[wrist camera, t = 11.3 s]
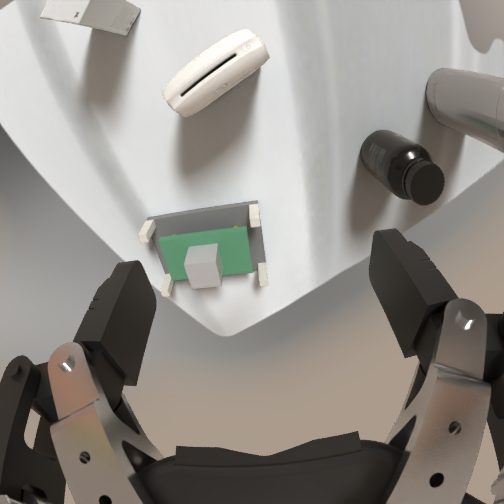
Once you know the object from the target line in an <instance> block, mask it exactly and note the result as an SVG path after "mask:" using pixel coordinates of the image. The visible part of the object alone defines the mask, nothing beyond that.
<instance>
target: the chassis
mask: <svg viewBox="0 0 504 504" xmlns="http://www.w3.org/2000/svg"><path fill="white" fill-rule="evenodd" d="M243 226H247V233H248V240H249V246H250V253H251V260H252V267H253V270H258V271H259V282H260V287H262V286H269V285H268V276H267V267H266V259H265V251H264V244H263V236H262V229H261V221H260V214H259V207H258V201H251V202H243V203H236V204H229V205H222V206H215V207H208V208H202V209H196V210H189V211H183V212H177V213H171V214H165V215H160V216H154V217H148V219H147V220H146V222H145V224H144V225H143V227H142V229H141V231H140V232H139V234H138V237H139V240H140V243H145V242H149V240H150V238H151V236H152V239H153V242H154V245H155V247H156V250H157V253H158V255H159V258H160V261H161V263H162V266H163V269H164V271H165V274H166V275H165V278H164V281H163V284H162V287H161V294H162V296H163V297H166V296H170V295H171V291H172V287H173V284H174V280H173V281H172V279H171V276H170V273H169V271H168V268H167V265H166V262H165V259H164V256H163V254H162V251H161V248H160V245H159V242H158V240H159V238H160V237H164V236H171V235H179V234H186V233H194V232H202V231H210V230H218V229H226V228H234V227H243Z"/></svg>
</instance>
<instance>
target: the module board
mask: <svg viewBox="0 0 504 504" xmlns="http://www.w3.org/2000/svg"><path fill="white" fill-rule="evenodd" d="M158 242H159V245H160V248H161V251H162V254H163V256H164V259H165V262H166V265H167V268H168V271H169V273H170V276H171V279H172V281H173V280H183V279H189V282H190V285H191V288H192V289H197V288H208V287H218V286H222V276H224V275H233V274H243V273H252V272H253V267H252V260H251V253H250V246H249V240H248V233H247V226H243V227H234V228H226V229H218V230H210V231H202V232H194V233H186V234H179V235H171V236H164V237H160V238H159V240H158Z"/></svg>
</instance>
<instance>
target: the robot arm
mask: <svg viewBox="0 0 504 504" xmlns="http://www.w3.org/2000/svg"><path fill="white" fill-rule="evenodd" d="M426 95H427V102H428V106H429V109H430V111H431V113H432V114H433V116H434V118H435V119H436V120H437V121H438V122H440V123H441V124H443V125H445V126H448V127H450V128H453V129H455V130H457V131H459V132H462V133H464V134H466V135H468V136H470V137H473V138H475V139H477V140H479V141H481V142H483V143H485V144H487V145H489V146H491V147H493V148H495V149H497V150H499V151H501V152H502V153H504V78H500V77H496V76H491V75H486V74H481V73H476V72H470V71H464V70H457V69H449V68H441V69H439V70H437V71H435V72H434V73H433V74H432V75H431V77H430V79H429V81H428V84H427V92H426ZM369 277H370V281H371V284H372V287H373V289H374V291H375V293H376V295H377V297H378V299H379V301H380V303H381V305H382V307H383V309H384V312H385V313H386V316H387V318H388V320H389V322H390V325H391V327H392V329H393V331H394V334H395V336H396V338H397V341H398V343H399V345H400V348H401V350H402V352H403V355H404V357H405V358H408V357H411V356H415V355H417V356H418V359H419V363H418V365H417V367H416V370H415V373H414V376H413V379H412V382H411V385H410V388H409V391H408V394H407V396H406V399H405V402H404V404H403V407H402V410H401V412H400V414H399V416H398V418H397V420H396V422H395V423H394V425H393V427H392V429H391V431H390V432H389V434H388V436H387V439H386V441H385V443H382V442H377V441H371V440H360V438H359V434H358V431H356V432H352V433H348V434H343V435H338V436H333V437H328V438H322V439H316V440H312V441H310V442H307V443H304V444H302V445H299V446H296V447H294V448H291V449H288V450H285V451H282V452H279V453H276V454H273V455H270V456H259V455H253V454H248V453H242V452H237V451H233V450H228V449H224V448H219V447H185V446H176V455H174V456H170V457H167V458H164V457H163V455H162V454H161V453H160V452H159V451H158V449H157V448H156V447H155V446H154V445H153V444H152V443H151V442H150V440H149V439H148V438H147V436H146V434H145V433H144V431H143V429H142V427H141V426H140V424H139V422H138V420H137V418H136V416H135V415H134V413H133V411H132V409H131V407H130V405H129V403H128V401H127V399H126V397H125V395H124V394H123V393H122V390H123V386H124V385H128V386H136V385H137V381H138V376H139V372H140V368H141V364H142V360H143V356H144V352H145V348H146V344H147V340H148V336H149V333H150V329H151V325H152V322H153V318H154V315H155V311H156V297H155V293H154V291H153V289H152V286H151V284H150V282H149V280H148V277H147V275H146V273H145V270H144V268H143V266H142V264H141V262H140V261H138V260H136V261H128V262H121V263H118V264H117V265H116V267H115V269H114V271H113V273H112V275H111V276H110V278H108V279H107V280H106V281H105V282H104V283H103V284H102V285H101V286H100V287H99V288H98V290H97V292H96V294H95V296H94V298H93V301H92V302H91V304H90V306H89V310H87V312H86V314H85V316H84V318H83V320H82V323H81V325H80V327H79V329H78V331H77V333H76V336H75V338H74V340H73V342H69V343H65V344H63V345H61V346H60V347H58V348H57V349H56V350H55V351H54V352H53V354H52V355H51V357H50V359H49V362H46V363H42V364H39V365H34V364H33V363H32V362H31V361H30V360H29V359H28V358H27V357H26V356H23V355H22V356H18V357H16V358H14V359H13V360H12V361H11V362H10V363H9V364H8V366H7V367H6V370H5V372H4V374H3V377H2V380H1V382H0V504H64V496H65V486H66V482H67V484H68V487H69V489H70V491H71V494H72V496H73V498H74V501H75V503H76V504H485V503H484V502H482V501H480V500H478V499H477V498H475V497H473V496H471V495H469V494H468V493H466V489H467V486H468V484H469V481H470V478H471V476H472V472H473V470H474V466H475V463H476V460H477V457H478V453H479V449H480V446H481V442H482V437H483V433H484V429H485V425H486V420H487V422H488V426H489V429H490V433H491V436H492V439H493V443H494V447H495V452H496V456H497V460H498V465H499V469H500V473H499V475H498V478H497V479H496V480H495V481H494V482H493V484H492V486H491V492H492V494H494V495H496V497H495V501H494V503H493V504H504V312H503V314H485V313H484V311H483V310H482V309H481V307H480V306H478V305H477V304H476V303H474V302H473V301H471V300H468V299H464V298H458V297H457V295H456V294H455V292H454V291H453V289H452V288H451V286H450V285H449V284H448V283H447V281H446V279H445V278H444V277H443V276H442V274H441V273H440V271H439V270H438V269H436V266H435V265H434V263H433V262H432V261H430V258H429V257H428V255H427V254H426V253H425V252H424V250H423V249H422V248H420V247H419V246H417V245H416V244H414V243H413V242H411V241H409V242H407V241H406V239H405V238H404V237H403V236H402V234H401V233H400V232H399V231H398V230H397V229H387V230H378V231H375V232H374V235H373V242H372V250H371V258H370V265H369ZM30 409H33V410H34V411H35V412H36V413H38V414H39V415H40V416H41V417H40V421H39V425H38V429H37V433H36V438H35V442H34V447H33V449H31V448H29V447H28V446H27V445H26V443H25V440H24V432H25V428H26V424H27V420H28V416H29V413H30Z"/></svg>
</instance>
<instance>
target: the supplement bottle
mask: <svg viewBox="0 0 504 504" xmlns="http://www.w3.org/2000/svg"><path fill="white" fill-rule="evenodd" d="M361 156H362V161H363V164H364V166H365V167H366V169H367V170H368V171H369V172H370V173H371V174H372V175H373V176H374V177H376V178H377V179H378V180H379V181H380V182H381V183H382V184H383V185H384V186H385V187H386V188H388V189H389V190H390V191H391V192H392V193H393V194H394V195H395V196H397V197H399V198H401V199H405V200H413V201H414V202H415V203H417V204H420V205H424V206H425V205H429V204H432V203H433V202H435V201H436V200H437V199H438V197H440V195H441V193H442V191H443V187H444V182H445V181H444V174H443V173H442V170H440V168H439V167H438V166H437V165H436V164H434V162H433V159H432V157H431V155H430V154H429V152H428V151H427V150H426V149H424V148H423V147H422V146H420V145H418V144H416V143H414V142H412V141H410V140H408V139H406V138H404V137H402V136H400V135H398V134H396V133H394V132H392V131H389V130H379V131H375V132H373V133H372V134H370V135H369V136H368V137H367V139H366V140H365V142H364V144H363V146H362V152H361Z"/></svg>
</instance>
